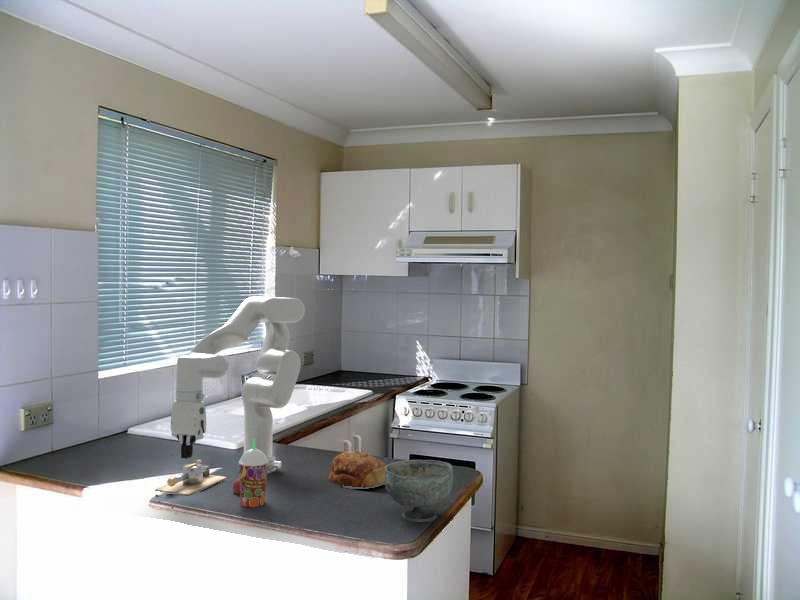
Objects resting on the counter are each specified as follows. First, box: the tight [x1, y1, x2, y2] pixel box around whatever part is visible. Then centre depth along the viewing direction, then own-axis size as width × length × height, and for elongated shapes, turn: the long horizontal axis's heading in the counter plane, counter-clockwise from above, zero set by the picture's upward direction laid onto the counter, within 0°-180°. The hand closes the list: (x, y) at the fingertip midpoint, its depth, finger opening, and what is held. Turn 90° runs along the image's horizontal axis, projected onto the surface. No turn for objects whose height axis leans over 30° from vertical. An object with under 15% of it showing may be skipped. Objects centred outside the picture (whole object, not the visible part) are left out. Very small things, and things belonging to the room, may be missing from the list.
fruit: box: [232, 477, 240, 495], centre depth 207 cm, size 6×6×8 cm
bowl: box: [384, 459, 454, 523], centre depth 191 cm, size 20×19×15 cm
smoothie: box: [238, 439, 268, 508], centre depth 197 cm, size 8×8×20 cm
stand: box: [154, 459, 228, 496], centre depth 214 cm, size 12×20×7 cm, turn 160°
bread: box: [328, 451, 388, 488], centre depth 224 cm, size 20×18×10 cm
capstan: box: [166, 462, 206, 486], centre depth 212 cm, size 18×6×6 cm, turn 160°
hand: (186, 457), depth 205 cm, fingers closed
